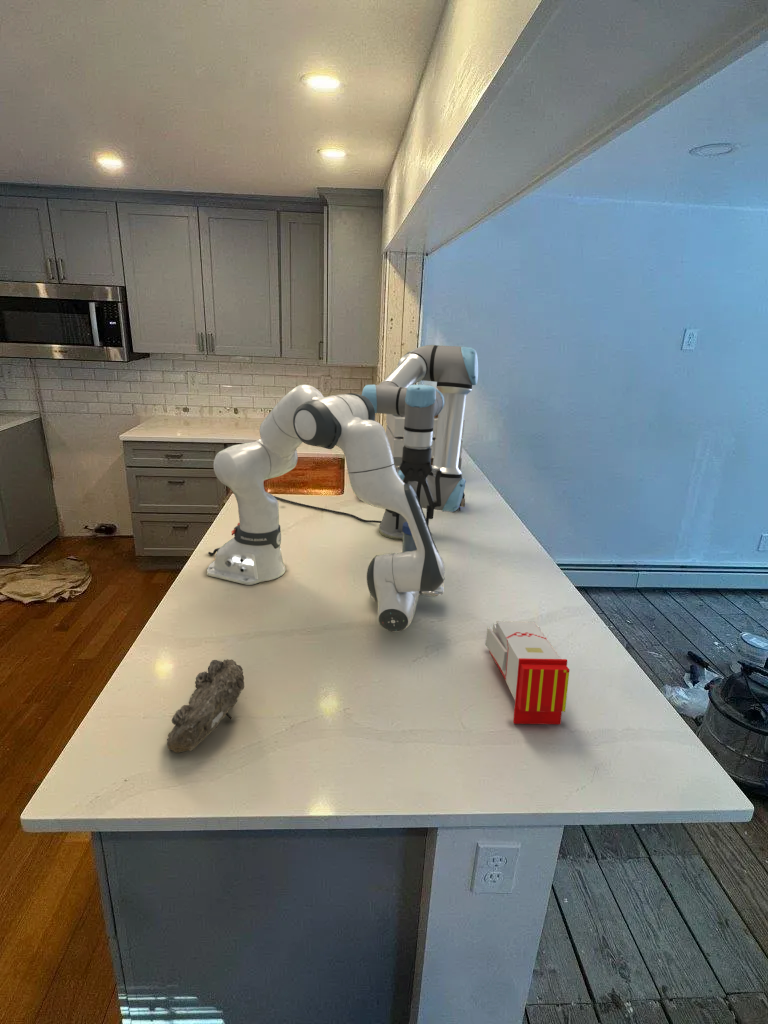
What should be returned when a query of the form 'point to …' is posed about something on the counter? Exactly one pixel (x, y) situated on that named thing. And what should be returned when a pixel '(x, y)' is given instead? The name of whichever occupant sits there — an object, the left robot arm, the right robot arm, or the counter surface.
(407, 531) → the lid
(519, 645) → the toy
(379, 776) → the counter surface
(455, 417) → the right robot arm
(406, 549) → the grey long cylinder
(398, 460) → the transformer
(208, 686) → the fossil
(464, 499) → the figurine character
